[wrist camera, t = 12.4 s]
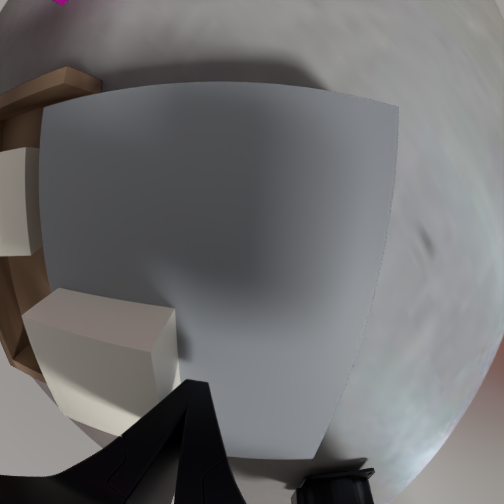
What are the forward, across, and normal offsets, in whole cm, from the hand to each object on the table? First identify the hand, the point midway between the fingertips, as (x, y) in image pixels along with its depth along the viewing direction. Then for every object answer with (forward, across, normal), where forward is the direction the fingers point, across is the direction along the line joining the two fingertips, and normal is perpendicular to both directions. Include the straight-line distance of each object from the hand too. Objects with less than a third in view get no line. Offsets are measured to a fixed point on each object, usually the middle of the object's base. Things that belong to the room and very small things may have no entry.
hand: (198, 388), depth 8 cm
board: (+5, +1, -1) cm, 5 cm away
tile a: (+1, +11, -6) cm, 13 cm away
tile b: (+1, +4, 0) cm, 4 cm away
